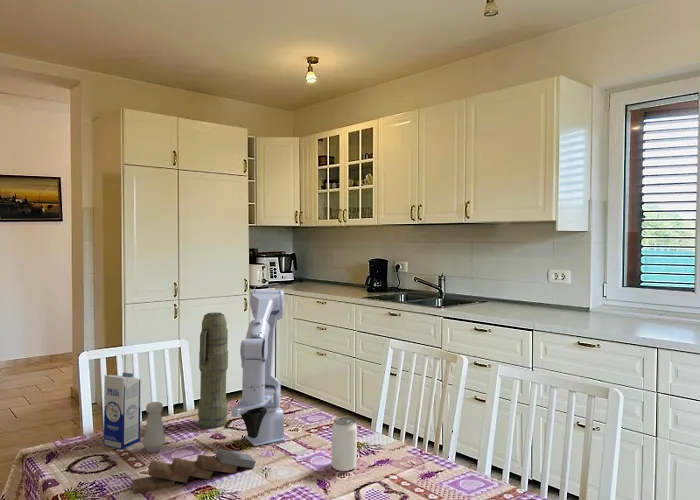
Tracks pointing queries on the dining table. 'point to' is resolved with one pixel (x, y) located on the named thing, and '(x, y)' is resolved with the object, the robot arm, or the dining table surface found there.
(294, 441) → the dining table surface
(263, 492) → the dining table surface
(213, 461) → the domino
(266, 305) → the robot arm
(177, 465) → the domino
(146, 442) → the salt shaker
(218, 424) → the thermos
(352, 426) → the can
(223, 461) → the domino
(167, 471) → the domino
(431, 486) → the dining table surface
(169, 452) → the dining table surface
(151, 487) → the domino
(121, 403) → the milk carton
